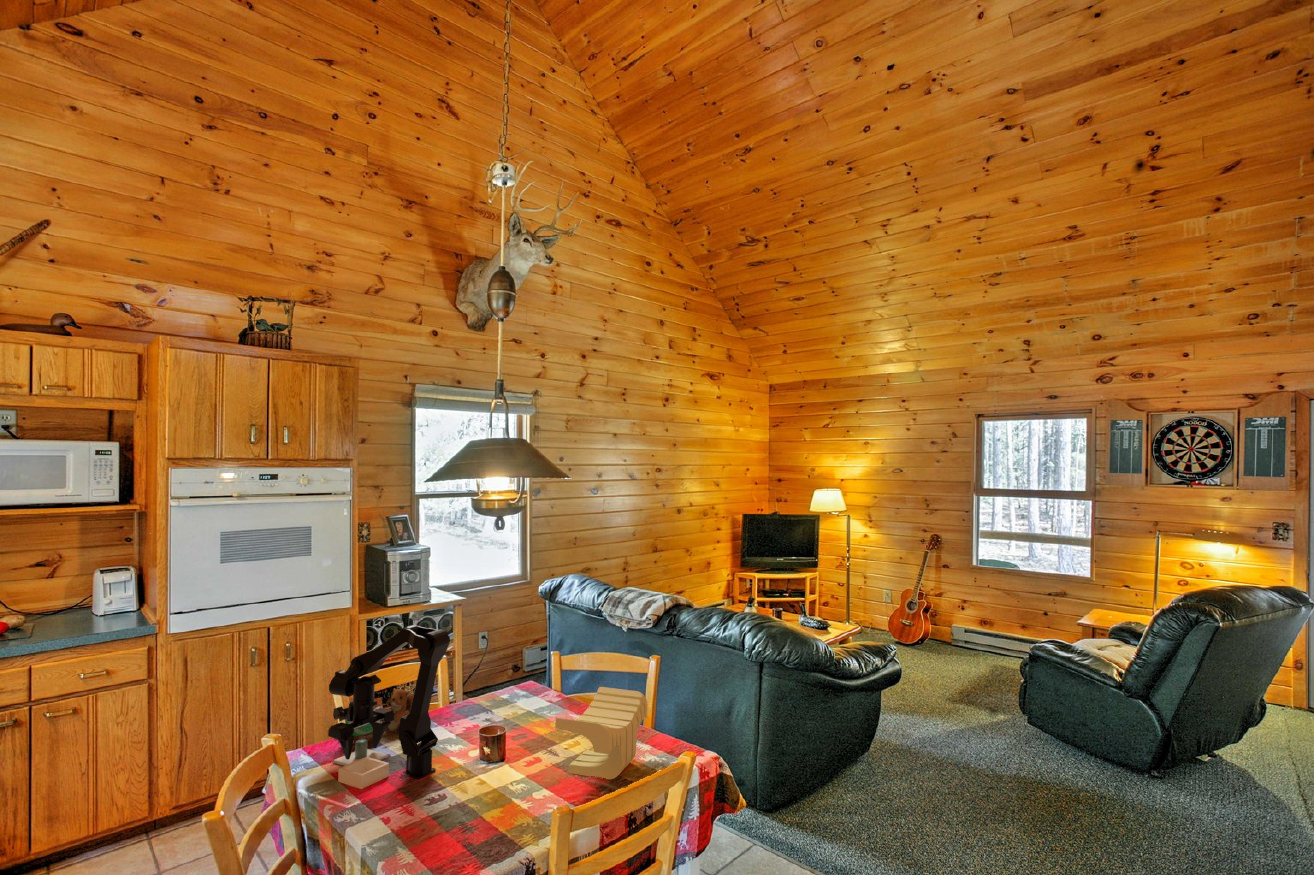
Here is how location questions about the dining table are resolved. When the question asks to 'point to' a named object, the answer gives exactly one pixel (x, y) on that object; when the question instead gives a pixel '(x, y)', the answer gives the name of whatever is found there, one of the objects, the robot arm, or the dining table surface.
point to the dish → (363, 772)
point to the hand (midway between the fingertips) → (361, 753)
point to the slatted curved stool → (608, 732)
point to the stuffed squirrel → (399, 707)
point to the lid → (360, 754)
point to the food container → (363, 730)
